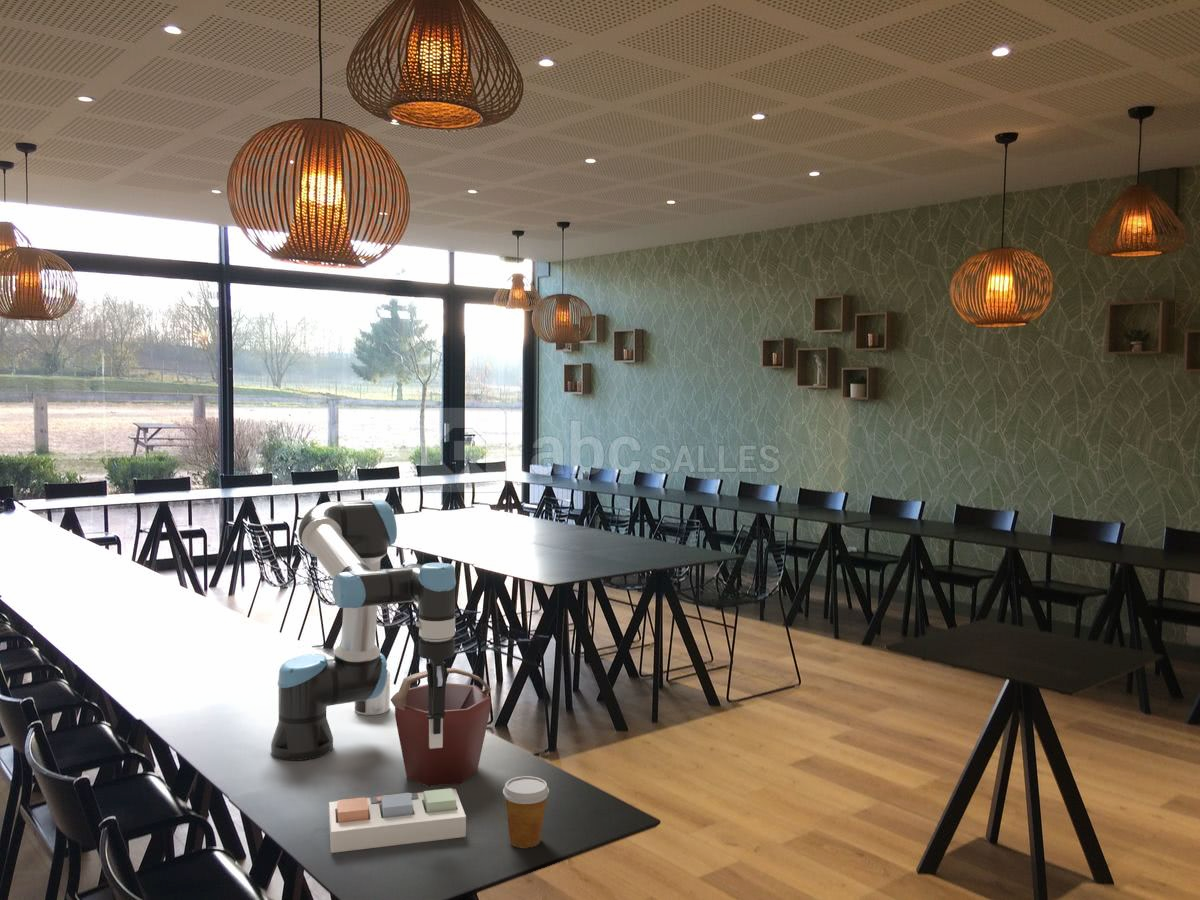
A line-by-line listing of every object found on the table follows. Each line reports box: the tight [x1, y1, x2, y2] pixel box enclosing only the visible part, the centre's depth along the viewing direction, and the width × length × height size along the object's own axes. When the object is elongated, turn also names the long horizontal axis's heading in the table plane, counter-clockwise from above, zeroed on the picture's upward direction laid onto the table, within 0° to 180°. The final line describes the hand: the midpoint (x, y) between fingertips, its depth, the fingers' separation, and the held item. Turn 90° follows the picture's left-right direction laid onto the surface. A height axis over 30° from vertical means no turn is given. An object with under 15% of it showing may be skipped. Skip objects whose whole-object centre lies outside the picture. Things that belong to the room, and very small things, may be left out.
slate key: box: [380, 792, 413, 818], centre depth 198 cm, size 6×6×2 cm
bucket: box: [390, 667, 492, 787], centre depth 228 cm, size 24×22×25 cm
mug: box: [354, 668, 391, 716], centre depth 270 cm, size 10×12×11 cm
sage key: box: [423, 787, 456, 813], centre depth 201 cm, size 6×6×2 cm
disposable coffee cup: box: [502, 775, 550, 849], centre depth 194 cm, size 10×10×12 cm
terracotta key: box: [337, 796, 368, 823], centre depth 195 cm, size 6×6×2 cm
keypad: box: [328, 788, 467, 854], centre depth 198 cm, size 14×27×5 cm, turn 107°
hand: (435, 746), depth 200 cm, fingers closed
